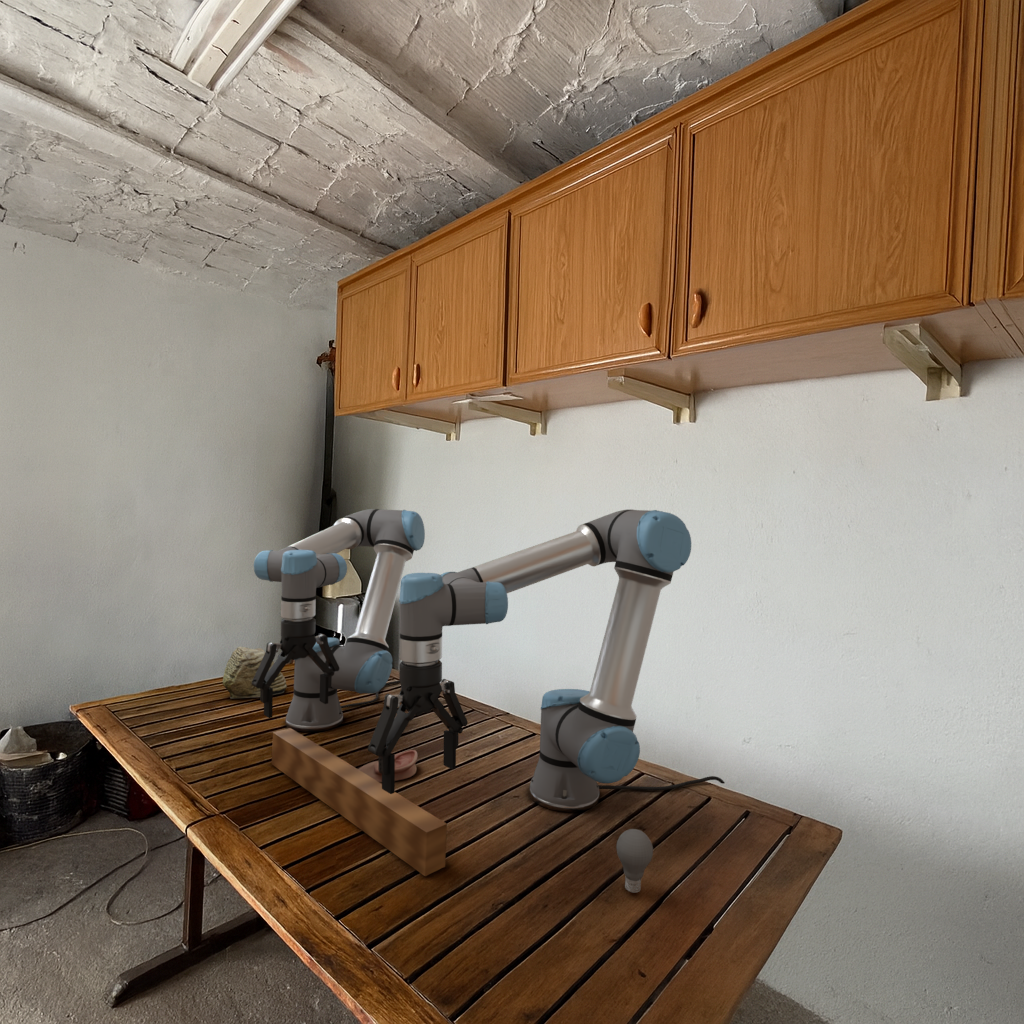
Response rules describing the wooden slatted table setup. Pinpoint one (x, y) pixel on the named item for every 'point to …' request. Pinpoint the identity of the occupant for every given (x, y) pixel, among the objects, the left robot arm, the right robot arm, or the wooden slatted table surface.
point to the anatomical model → (402, 766)
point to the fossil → (247, 674)
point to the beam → (363, 801)
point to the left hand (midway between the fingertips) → (296, 709)
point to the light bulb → (634, 857)
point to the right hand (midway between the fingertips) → (420, 778)
